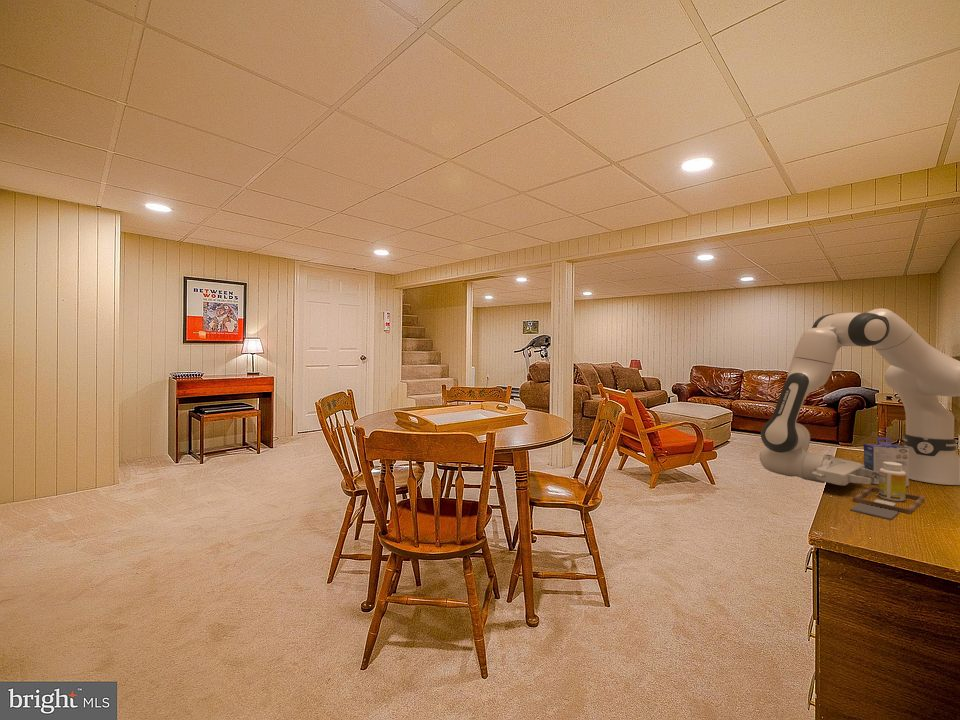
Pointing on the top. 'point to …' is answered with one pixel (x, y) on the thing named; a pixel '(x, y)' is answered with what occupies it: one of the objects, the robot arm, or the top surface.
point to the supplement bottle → (892, 482)
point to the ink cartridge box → (885, 457)
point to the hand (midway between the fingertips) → (876, 478)
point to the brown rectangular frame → (895, 508)
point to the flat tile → (885, 502)
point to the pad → (874, 511)
